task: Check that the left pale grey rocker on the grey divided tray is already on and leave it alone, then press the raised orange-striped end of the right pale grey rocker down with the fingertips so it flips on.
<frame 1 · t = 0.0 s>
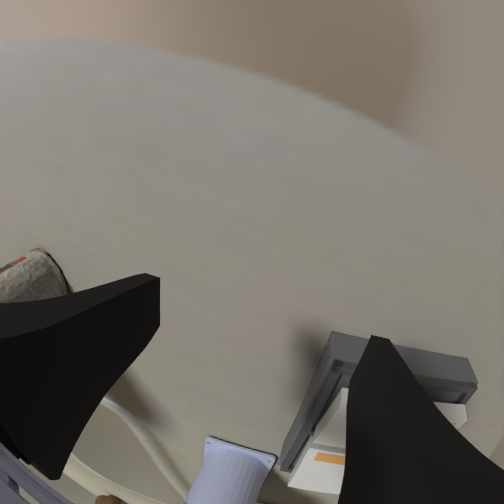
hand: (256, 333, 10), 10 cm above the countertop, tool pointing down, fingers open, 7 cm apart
grey divided tray: (369, 411, 22), on the countertop
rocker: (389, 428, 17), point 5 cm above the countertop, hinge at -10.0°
spray can: (49, 282, 27), on the countertop
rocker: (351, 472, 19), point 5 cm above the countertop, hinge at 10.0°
brown potato: (117, 497, 57), on the countertop
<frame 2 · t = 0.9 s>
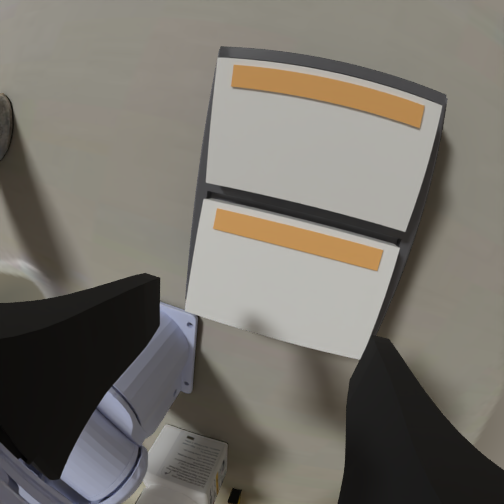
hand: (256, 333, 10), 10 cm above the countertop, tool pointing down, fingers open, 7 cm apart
grey divided tray: (310, 195, 18), on the countertop
container: (198, 447, 31), on the countertop
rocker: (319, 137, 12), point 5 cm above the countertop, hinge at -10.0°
spray can: (0, 127, 23), on the countertop
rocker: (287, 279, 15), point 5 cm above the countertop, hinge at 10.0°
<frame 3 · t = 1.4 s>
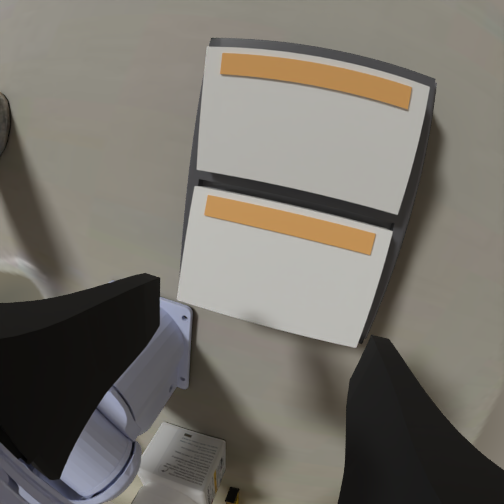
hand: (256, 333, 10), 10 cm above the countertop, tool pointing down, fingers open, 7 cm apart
grey divided tray: (302, 184, 18), on the countertop
container: (196, 445, 31), on the countertop
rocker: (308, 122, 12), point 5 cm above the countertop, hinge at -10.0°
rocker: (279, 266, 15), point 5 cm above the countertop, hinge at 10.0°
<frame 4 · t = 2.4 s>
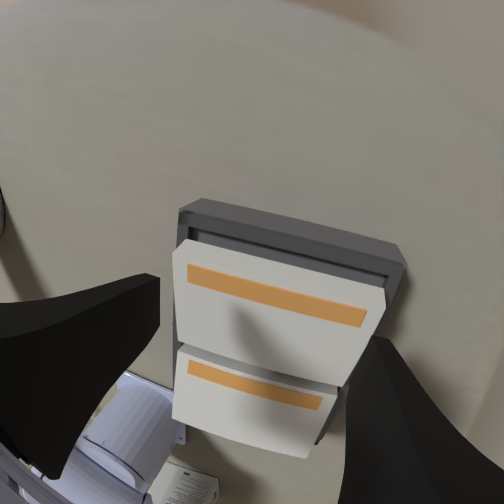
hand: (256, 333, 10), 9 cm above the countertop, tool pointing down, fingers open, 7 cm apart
grey divided tray: (273, 325, 20), on the countertop
container: (194, 478, 33), on the countertop
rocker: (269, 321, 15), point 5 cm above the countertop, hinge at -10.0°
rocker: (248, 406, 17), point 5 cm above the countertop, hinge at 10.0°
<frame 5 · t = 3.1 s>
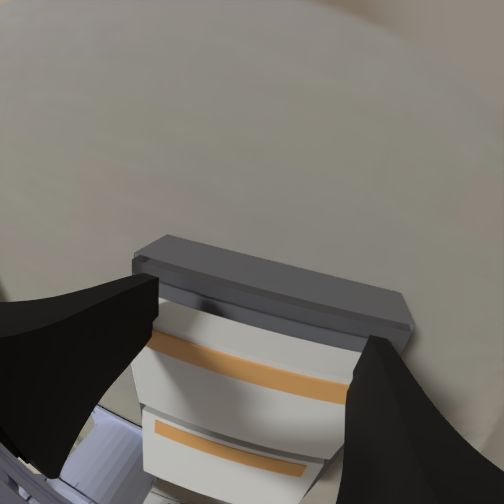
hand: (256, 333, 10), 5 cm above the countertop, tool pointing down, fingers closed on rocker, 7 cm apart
grey divided tray: (254, 378, 17), on the countertop
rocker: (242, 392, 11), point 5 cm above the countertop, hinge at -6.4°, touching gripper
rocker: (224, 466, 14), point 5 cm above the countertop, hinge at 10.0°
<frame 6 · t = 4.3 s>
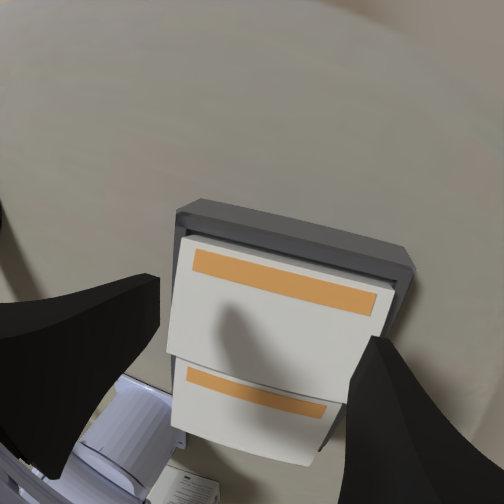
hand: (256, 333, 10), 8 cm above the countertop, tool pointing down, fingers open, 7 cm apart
grey divided tray: (275, 330, 19), on the countertop
container: (194, 482, 33), on the countertop
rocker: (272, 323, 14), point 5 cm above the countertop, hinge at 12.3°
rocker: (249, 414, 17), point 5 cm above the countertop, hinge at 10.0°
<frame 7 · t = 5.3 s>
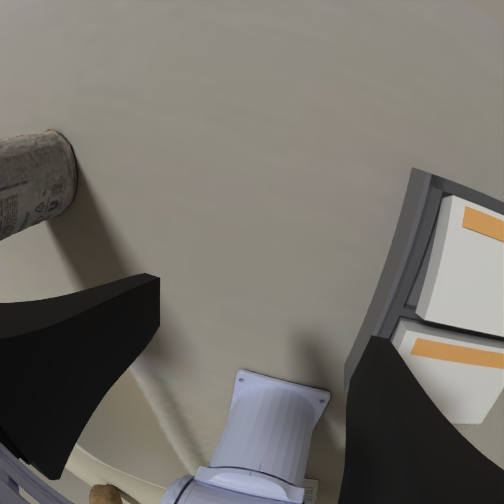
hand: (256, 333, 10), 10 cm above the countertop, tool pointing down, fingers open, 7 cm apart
grey divided tray: (453, 299, 17), on the countertop
container: (285, 484, 31), on the countertop
spray can: (54, 172, 23), on the countertop
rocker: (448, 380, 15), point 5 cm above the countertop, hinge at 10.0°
brown potato: (115, 487, 53), on the countertop
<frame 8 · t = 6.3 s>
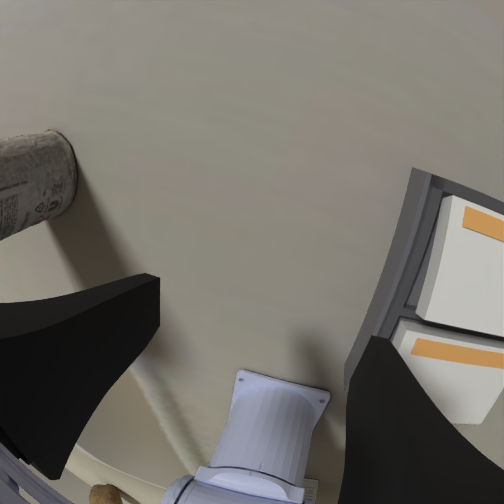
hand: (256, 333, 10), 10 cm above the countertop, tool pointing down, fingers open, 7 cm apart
grey divided tray: (453, 299, 17), on the countertop
container: (285, 484, 31), on the countertop
spray can: (54, 172, 23), on the countertop
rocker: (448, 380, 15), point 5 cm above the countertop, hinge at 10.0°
brown potato: (115, 487, 53), on the countertop
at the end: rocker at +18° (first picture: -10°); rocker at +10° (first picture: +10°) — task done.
